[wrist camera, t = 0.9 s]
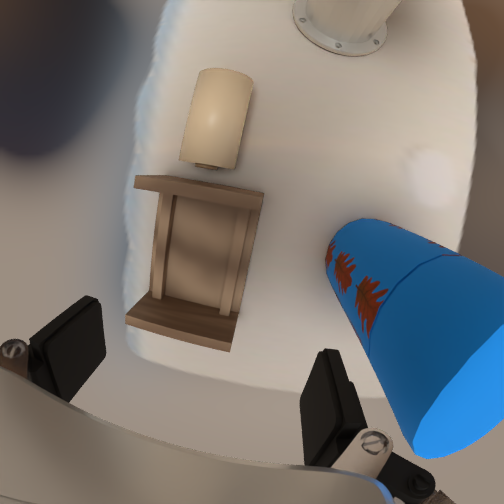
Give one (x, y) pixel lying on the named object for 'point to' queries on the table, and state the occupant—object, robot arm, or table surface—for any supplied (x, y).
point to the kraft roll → (216, 118)
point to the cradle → (197, 260)
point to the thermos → (424, 331)
